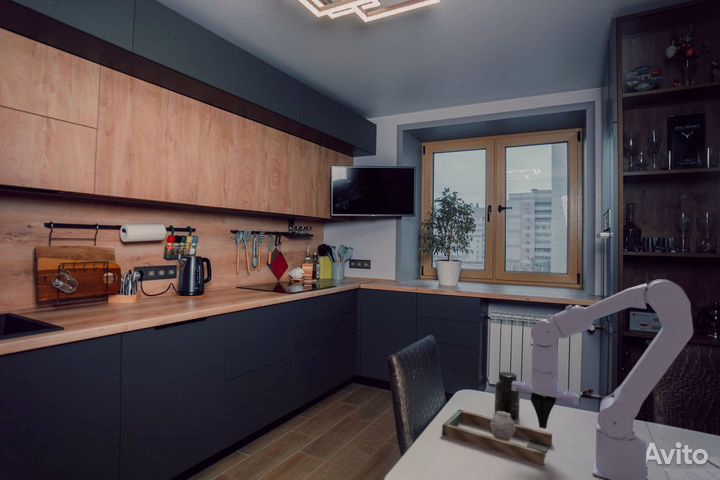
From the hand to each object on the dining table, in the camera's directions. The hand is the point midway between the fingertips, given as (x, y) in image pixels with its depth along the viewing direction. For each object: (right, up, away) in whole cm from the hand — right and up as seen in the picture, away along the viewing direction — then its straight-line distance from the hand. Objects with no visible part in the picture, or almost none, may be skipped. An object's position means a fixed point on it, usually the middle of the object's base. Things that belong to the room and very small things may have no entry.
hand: (543, 426), depth 96 cm
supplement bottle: (-1, -7, +21) cm, 22 cm away
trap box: (-9, -6, +6) cm, 12 cm away
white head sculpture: (-8, -6, +5) cm, 11 cm away
